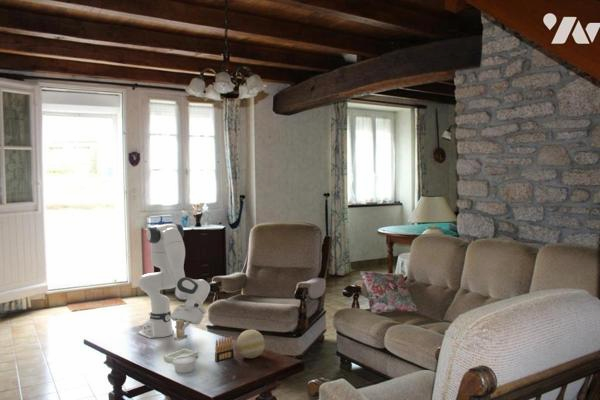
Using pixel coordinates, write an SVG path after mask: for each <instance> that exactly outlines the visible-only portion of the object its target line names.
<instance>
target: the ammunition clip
mask: <svg viewBox="0 0 600 400" xmlns="http://www.w3.org/2000/svg"><path fill="white" fill-rule="evenodd" d="M233 345H234V343H233V337H232V335H231V336H230V337H229V336H228V337H225V338H223V337H222V338H219V339H216V340H215V347H214V348H215V352H214V362H215V363H217V364H218V363H221V362H225V361H229V360H233V359H234V358H235V354H234V346H233Z"/></svg>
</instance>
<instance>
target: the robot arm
mask: <svg viewBox="0 0 600 400" xmlns="http://www.w3.org/2000/svg"><path fill="white" fill-rule="evenodd" d="M184 233H185V232H184V227H183V225H181V223H180V224H179V223H164V224H159V225H158V224H157V225H151V226H149V227H148V228H147V230H146V240H147V241H148V242H149V243H150V263H151V265H152V266H154V267H156V268H158V269H159V270H160V271H158V272H148V273H146V274H142V275H141V276H140V277H139V279H138V286H139V288H140V290H141V291H142V292H144V293H146V294H147V296H148V297H149V299H150V304H151V307H150V308H151V312H149V313H148V315H149V318H148V319H146V320H145V321H144V322H143V324H142V329H141V330H140V331H138V334H139V335H141V336H143V337H146V338H149V339H153V338H164V337H166V338H167V337H168V336H171V335H173V334H174V328H173V323H172V322H173V321H174V322H176V321H178V320H184V325H182V327H181V329H182V330H186V328H187V327H189V326H190V324H192V325H195V326H196V325H197V326H198V325H200V324H201V323H202V320H203V319H204V317H205V314H206V313H207V311H206V309H205V308H204V307H203V303H204V302H205V301H206V300H207V298H208V295H209V294H210V291H211V286H210V284H209V281H208V280H205V279H202V278H201V279H194V278H190V277H188V276H187V277H186V274H185V270H184V264H185V259H186V247H185V242H184V240H183V238H184ZM170 289H175V290H174V297H175V299H176V300H177V302H180V303H183V304H180V305H178V306H177V305H176V307H175V308H174V309H173V311H172V312H171V302H170V301H171V300H170V298H169V297H168V296H167V295H164V294H163V293H161V291H162V290H170ZM174 327H175V329H176V325H175V326H174Z"/></svg>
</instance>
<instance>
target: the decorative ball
mask: <svg viewBox="0 0 600 400" xmlns="http://www.w3.org/2000/svg"><path fill="white" fill-rule="evenodd" d="M265 347H266V344H265V338H264V336H263V334H262V333H261V332H260V331H258V330H256V329H252V328H251V329H250V328H249V329H246V330H244V331H242V332H241V333H240V335H238V337H237V340H236V348H237V352H238V353H239V354H240V356H242V357H244V358H246V359H255V358H257V357H259V356H260V355H262V353H263V352H264V349H265Z"/></svg>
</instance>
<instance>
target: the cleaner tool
mask: <svg viewBox="0 0 600 400" xmlns="http://www.w3.org/2000/svg"><path fill="white" fill-rule="evenodd" d="M184 324H185V322H184V320H178V321H175V326H176V328H175V331H176V334H175V335H176V336H175V337H173V341H174V342H180V341H183V340H185V339H188V335H187V334H185V330H186V329H185V330H182V329H181V327H182V325H184Z"/></svg>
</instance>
